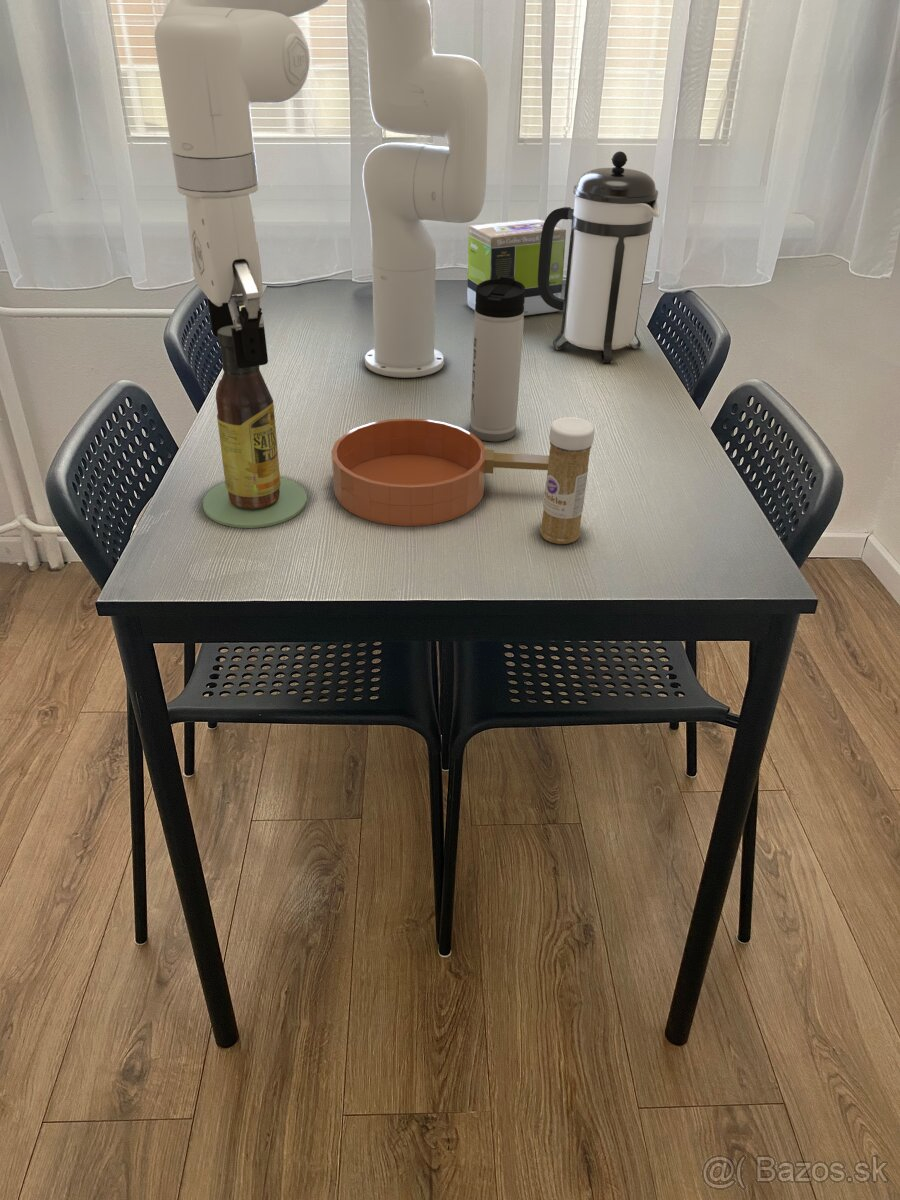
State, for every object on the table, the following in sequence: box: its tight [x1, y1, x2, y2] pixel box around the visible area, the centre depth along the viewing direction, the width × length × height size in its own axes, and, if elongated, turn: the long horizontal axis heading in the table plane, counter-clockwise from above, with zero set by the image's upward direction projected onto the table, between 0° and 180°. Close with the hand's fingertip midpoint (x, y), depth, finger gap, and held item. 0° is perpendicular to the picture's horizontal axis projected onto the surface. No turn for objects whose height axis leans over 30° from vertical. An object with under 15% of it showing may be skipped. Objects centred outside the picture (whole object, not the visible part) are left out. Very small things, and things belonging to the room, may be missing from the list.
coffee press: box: [538, 151, 661, 364], centre depth 140 cm, size 17×16×30 cm
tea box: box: [466, 218, 567, 317], centre depth 160 cm, size 15×10×15 cm
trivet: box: [202, 476, 308, 529], centre depth 103 cm, size 12×12×1 cm
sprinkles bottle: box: [539, 416, 595, 545], centre depth 95 cm, size 5×5×13 cm
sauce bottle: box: [215, 325, 281, 509], centre depth 97 cm, size 6×6×20 cm
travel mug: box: [469, 276, 525, 443], centre depth 115 cm, size 6×7×20 cm
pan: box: [331, 418, 486, 527], centre depth 106 cm, size 18×18×5 cm
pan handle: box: [484, 448, 549, 475], centre depth 104 cm, size 11×3×2 cm, turn 86°
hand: (239, 349), depth 93 cm, fingers open, 9 cm apart
